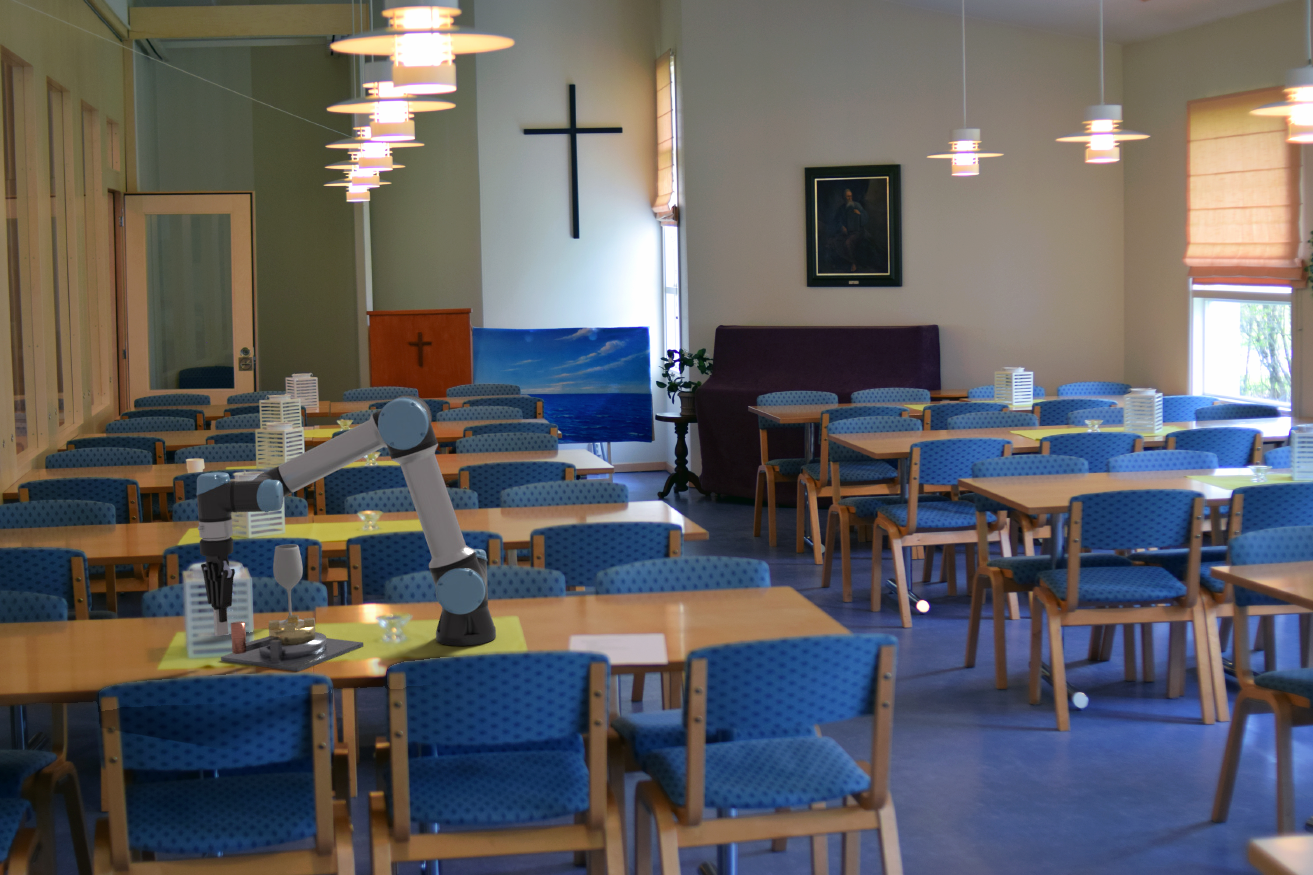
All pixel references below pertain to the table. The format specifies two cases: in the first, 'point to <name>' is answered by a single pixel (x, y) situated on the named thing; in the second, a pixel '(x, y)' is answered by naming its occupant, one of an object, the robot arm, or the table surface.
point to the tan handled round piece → (274, 634)
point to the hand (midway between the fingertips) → (221, 634)
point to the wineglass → (287, 569)
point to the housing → (294, 653)
